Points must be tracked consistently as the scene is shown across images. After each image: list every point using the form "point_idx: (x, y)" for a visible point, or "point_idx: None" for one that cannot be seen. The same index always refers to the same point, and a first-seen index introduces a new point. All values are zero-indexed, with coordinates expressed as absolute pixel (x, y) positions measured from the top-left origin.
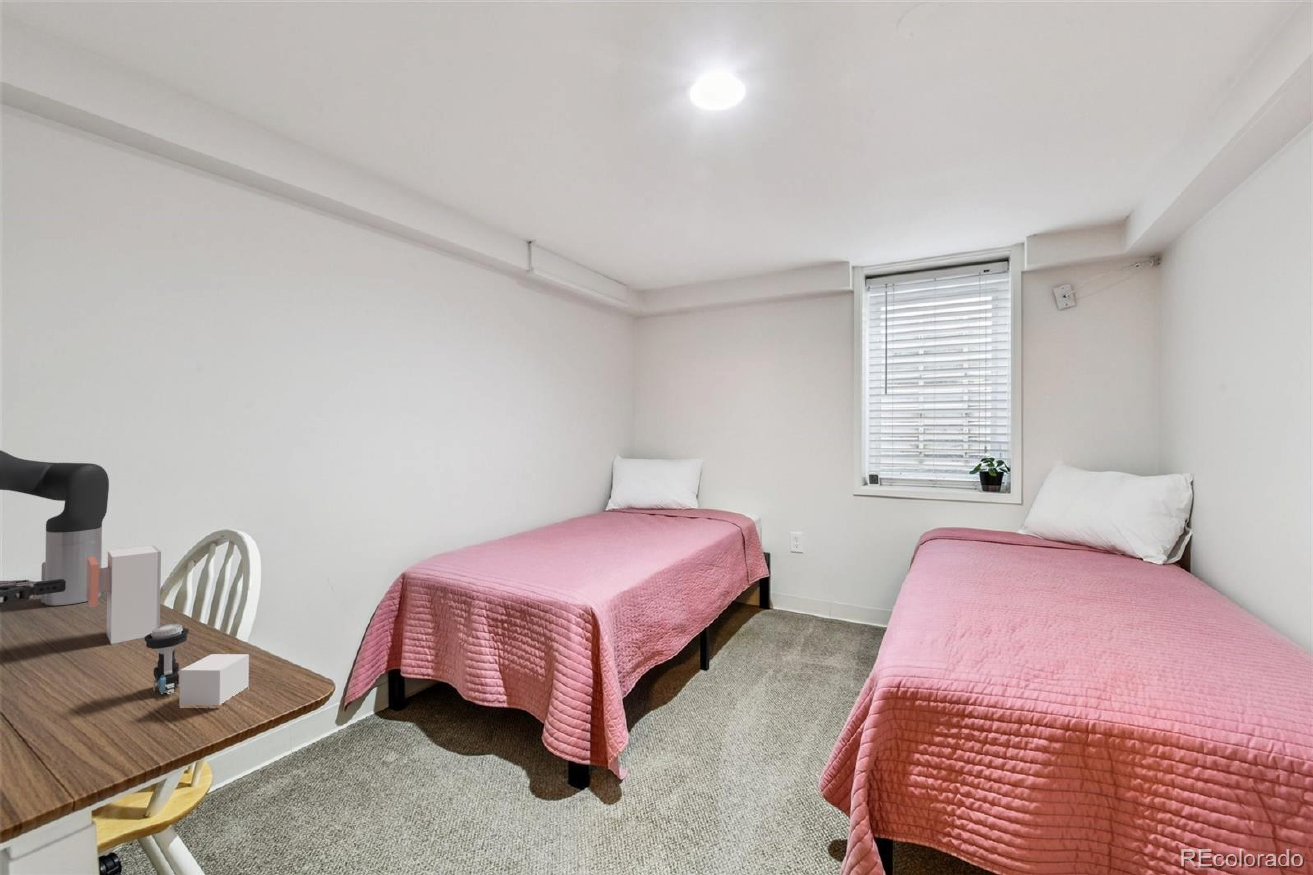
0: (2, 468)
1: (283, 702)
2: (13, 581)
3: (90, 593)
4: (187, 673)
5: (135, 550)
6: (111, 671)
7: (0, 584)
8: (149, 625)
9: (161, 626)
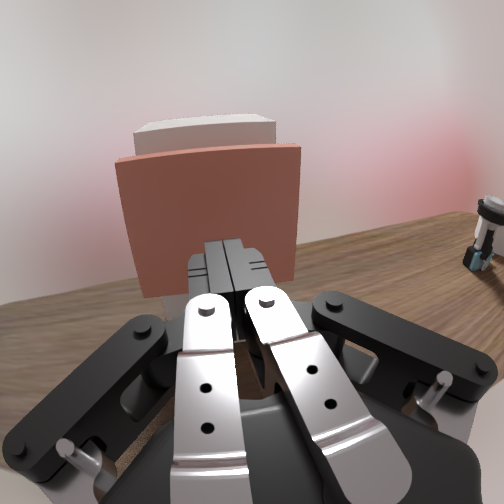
0: None
1: None
2: (195, 352)
3: (285, 245)
4: None
5: (191, 120)
6: (425, 312)
7: (238, 408)
8: None
9: (494, 201)
